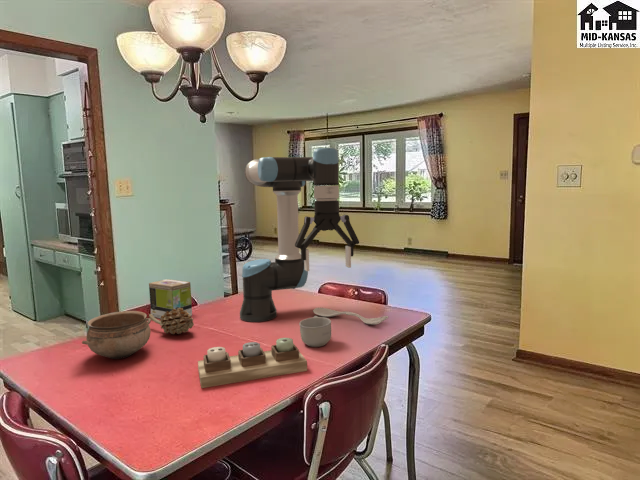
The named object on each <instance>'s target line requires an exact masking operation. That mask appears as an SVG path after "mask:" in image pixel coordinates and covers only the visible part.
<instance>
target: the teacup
mask: <svg viewBox="0 0 640 480" xmlns="http://www.w3.org/2000/svg"><path fill="white" fill-rule="evenodd" d="M298 326H299V333H300V337H301V341H302V342H303V343H304V344H305V345H306V346H308V347H311V348H318V347H319V348H320V347H324V346H325V345H327V343H328V342H329V341H330V340H331V338H332V320H331V319H330V318H329V317H322V316H319V315H314V316H313V317H308V318H304V319H302V320H300V321H299V324H298Z"/></svg>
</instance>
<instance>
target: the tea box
mask: <svg viewBox="0 0 640 480" xmlns="http://www.w3.org/2000/svg"><path fill="white" fill-rule="evenodd" d="M148 289H149V293H148V294H149V304H150V314H151V315H153V317H154V318H156V319H160V318H161V316H162V315H164V314H165V313H166V312H167V311H168V312H170V311H172V309H176V310H177V309H178V308H183V310H184V311H186V310H187V313H189V314H191V317H192V315H193V306H192V305H193V304H192V287H191V282H190V281H184V280H178V279H168V278H167V279H166V278H165V279H161V280H158V281H157V280H156V281H153V282H149V283H148Z"/></svg>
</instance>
